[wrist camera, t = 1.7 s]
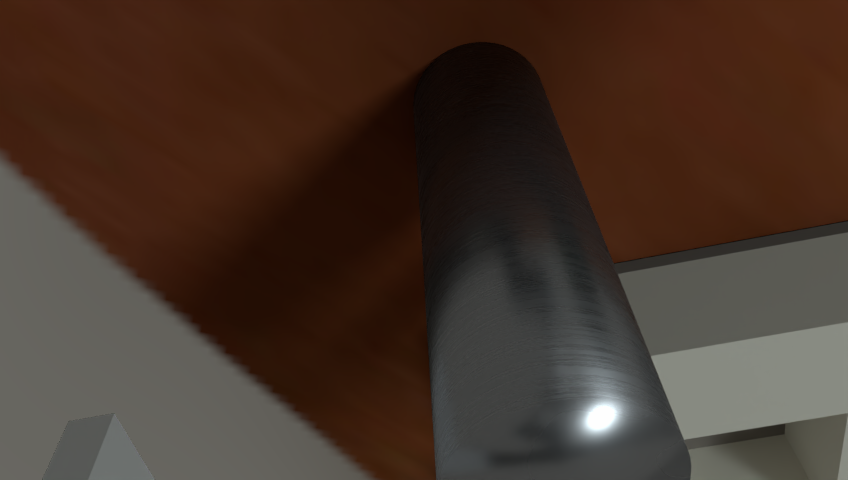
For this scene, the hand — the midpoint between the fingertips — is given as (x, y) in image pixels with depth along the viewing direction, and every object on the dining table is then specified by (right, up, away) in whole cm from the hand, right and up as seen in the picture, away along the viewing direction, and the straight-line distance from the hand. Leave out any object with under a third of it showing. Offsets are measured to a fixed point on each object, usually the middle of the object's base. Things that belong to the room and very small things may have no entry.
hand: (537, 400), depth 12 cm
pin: (0, +6, +8) cm, 10 cm away
